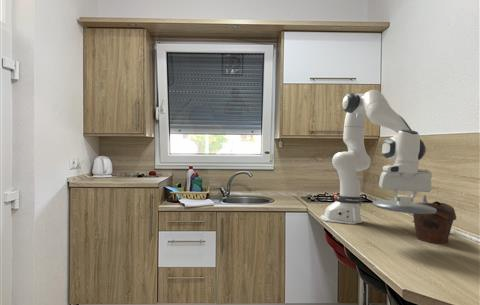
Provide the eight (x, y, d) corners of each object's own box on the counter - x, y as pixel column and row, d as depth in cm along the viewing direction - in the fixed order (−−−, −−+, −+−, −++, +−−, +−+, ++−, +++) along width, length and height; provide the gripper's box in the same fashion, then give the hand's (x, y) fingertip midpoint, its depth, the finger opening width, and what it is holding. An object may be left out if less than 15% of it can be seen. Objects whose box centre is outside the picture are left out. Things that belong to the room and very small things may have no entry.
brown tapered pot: (446, 236, 162) (448, 199, 162) (461, 247, 143) (463, 206, 142) (406, 232, 167) (407, 197, 167) (416, 243, 148) (417, 203, 147)
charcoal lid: (384, 211, 128) (385, 198, 128) (365, 200, 152) (366, 189, 152) (448, 216, 126) (449, 203, 126) (419, 204, 150) (420, 193, 150)
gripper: (428, 169, 141) (425, 201, 142) (378, 166, 143) (376, 198, 143) (435, 170, 135) (433, 204, 135) (384, 167, 136) (381, 200, 137)
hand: (403, 201), depth 139 cm, fingers closed on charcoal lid, 4 cm apart
